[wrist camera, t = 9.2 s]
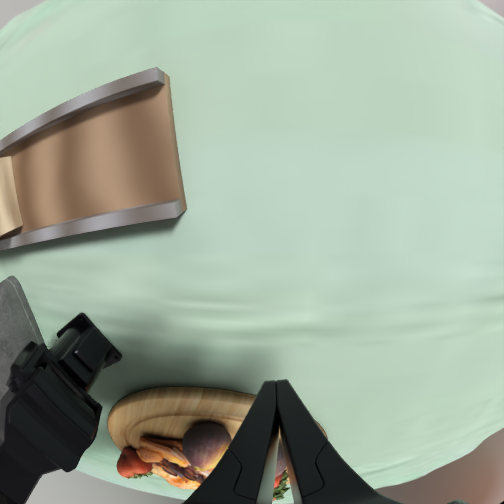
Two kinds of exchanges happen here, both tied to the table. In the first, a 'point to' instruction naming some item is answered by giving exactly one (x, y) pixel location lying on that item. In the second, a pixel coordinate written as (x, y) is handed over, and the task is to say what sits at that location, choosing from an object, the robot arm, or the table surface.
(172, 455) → the wooden plate with food
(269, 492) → the robot arm
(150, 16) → the table surface
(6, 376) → the flask
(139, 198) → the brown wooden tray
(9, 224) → the cream square block
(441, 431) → the table surface
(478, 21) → the table surface
